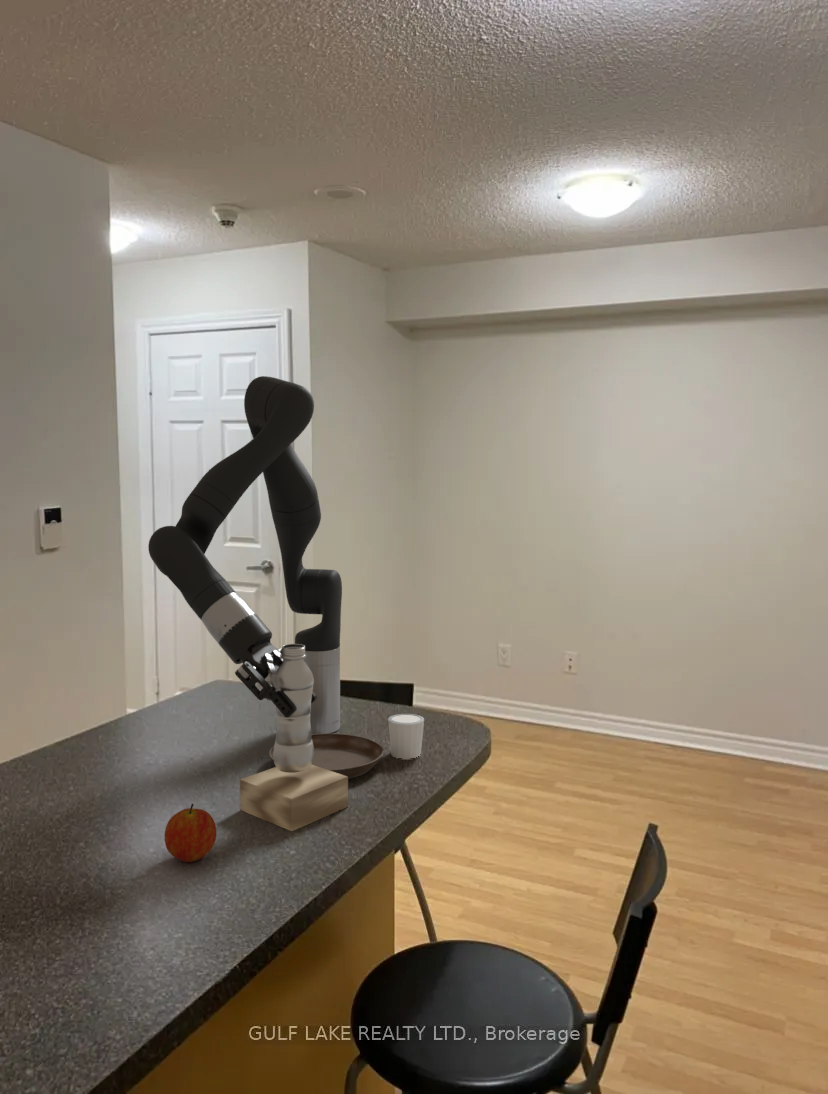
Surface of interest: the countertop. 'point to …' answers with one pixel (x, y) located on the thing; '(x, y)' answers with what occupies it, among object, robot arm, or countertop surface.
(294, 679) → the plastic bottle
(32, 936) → the countertop surface
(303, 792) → the block
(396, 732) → the white cup
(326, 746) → the plant saucer
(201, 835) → the fruit
